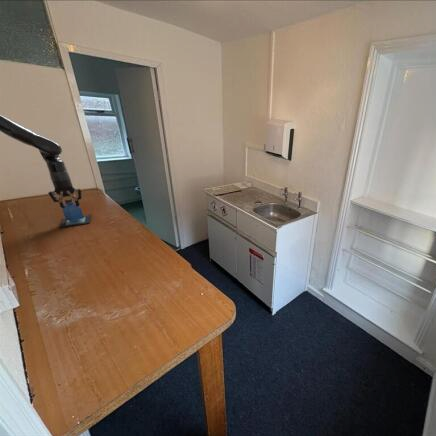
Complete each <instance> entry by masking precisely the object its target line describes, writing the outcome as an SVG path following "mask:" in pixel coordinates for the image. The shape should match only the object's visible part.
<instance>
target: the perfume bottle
mask: <svg viewBox="0 0 436 436" xmlns="http://www.w3.org/2000/svg"><path fill="white" fill-rule="evenodd" d="M64 207H65V208H64V209H63V208H61V210H62V213H63V217H64V219H66V220H68V221H71V222H72V221H76V220H79V219H83V218H84V217H83V216H84V214H83V212H82V209H81V207H80V206H76V203H75V204H74V200H73V198H67V199H64Z"/></svg>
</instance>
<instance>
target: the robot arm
mask: <svg viewBox="0 0 436 436" xmlns="http://www.w3.org/2000/svg"><path fill="white" fill-rule="evenodd" d="M0 132H1V133H3V134H4V135H6V136H8V137H10V138H11V139H14V140H15V141H17V142H20V143H22V144H25V145H27V146H30V147H33V148H35V149H37V150H38V152H39V154H40V156H41V158H42V160H43V161H44V162H45V163H46V167H47V170H48V172H49V177H50V180H51V183H52V186H53V187H54V190H49V191H48V192H47V194H48V195H49V197H50V198H51V199H52V201H53V203H58V204H59V207H60V208H61V209H64V208H65V207H64V205H65V202H64V201H63V198H66V197H71V199H72V200H73V201H74V203H75V205H76V206H78V207H80V201H79V200H82V196H83V195H82V188H75V187H74V186H73V183H72V181H71V177H70V174H69V172H68V170H67V167H66V164H65V162H64V160H62V159H61V157H60V156H59V155H61V154H62V152H63V148H62V147H61V145H60V144H59V143H57V142H55V141H53V140H51V139H49V138H46V137H44V136H42V135H40V134H38V133H36V132H34V131H32V130H31V129H28V128H26V127H25V126H22V125H21V124H18V123H16V122H15V121H13V120H11V119H9V118H7V117H5V116H3V114H0ZM74 192H76V193H77V196H76V194H75V193H74ZM55 194H57V195H59V196H58V198H57V197H56V195H55Z"/></svg>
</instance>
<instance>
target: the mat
mask: <svg viewBox="0 0 436 436" xmlns="http://www.w3.org/2000/svg"><path fill="white" fill-rule="evenodd" d="M83 217H84V218H83V219H79V220H76V221H72V222H71V221H68V220H66V218H63V219H62V220H61V223H60V225H59V229H64V228H70V227H77V226H84V225H89V224H90V222H91V218H92V216H91V215H83Z"/></svg>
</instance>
